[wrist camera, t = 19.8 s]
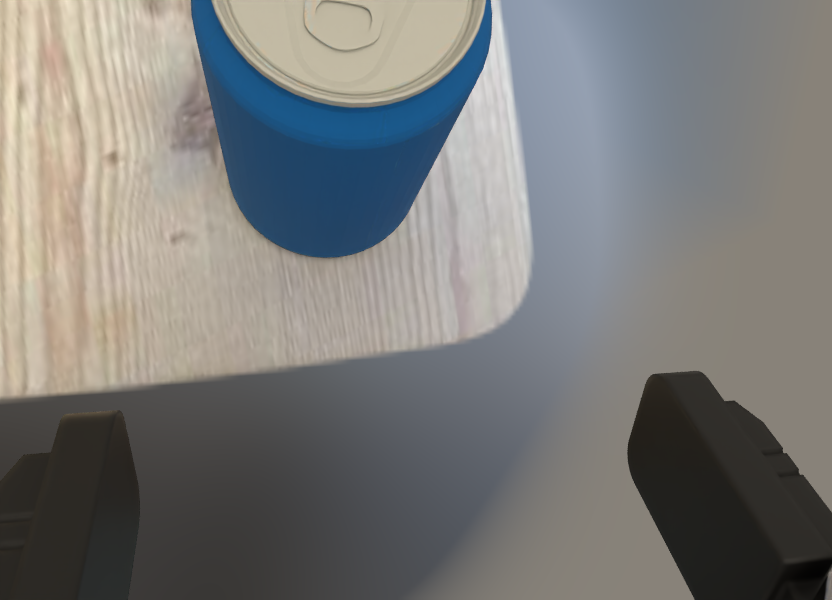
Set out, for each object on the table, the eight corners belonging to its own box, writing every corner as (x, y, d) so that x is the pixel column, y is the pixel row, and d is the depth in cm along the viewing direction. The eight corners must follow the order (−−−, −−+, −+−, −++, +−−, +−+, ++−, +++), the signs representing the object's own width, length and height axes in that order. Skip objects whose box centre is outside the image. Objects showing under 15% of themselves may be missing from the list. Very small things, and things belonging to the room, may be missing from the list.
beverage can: (424, 102, 28) (520, -136, 17) (405, 275, 27) (493, 149, 15) (244, 71, 27) (211, -205, 16) (214, 248, 26) (155, 92, 14)
